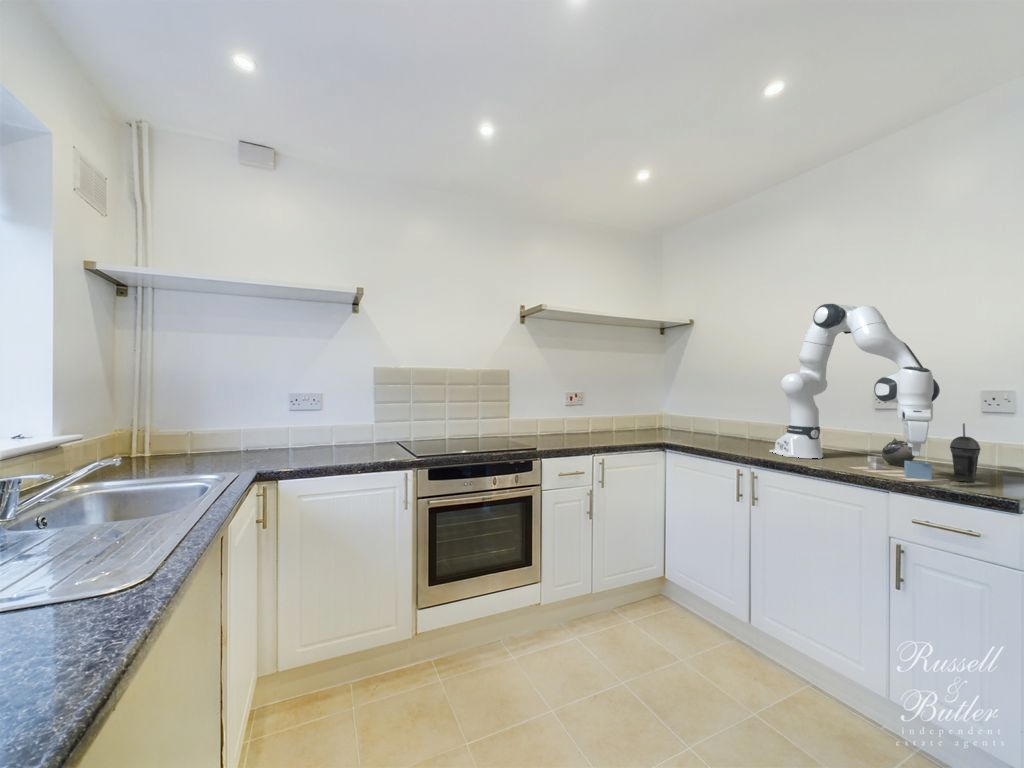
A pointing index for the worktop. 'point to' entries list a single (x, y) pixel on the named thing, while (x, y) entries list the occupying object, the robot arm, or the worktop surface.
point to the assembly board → (896, 472)
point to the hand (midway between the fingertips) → (913, 453)
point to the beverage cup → (965, 457)
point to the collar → (918, 470)
